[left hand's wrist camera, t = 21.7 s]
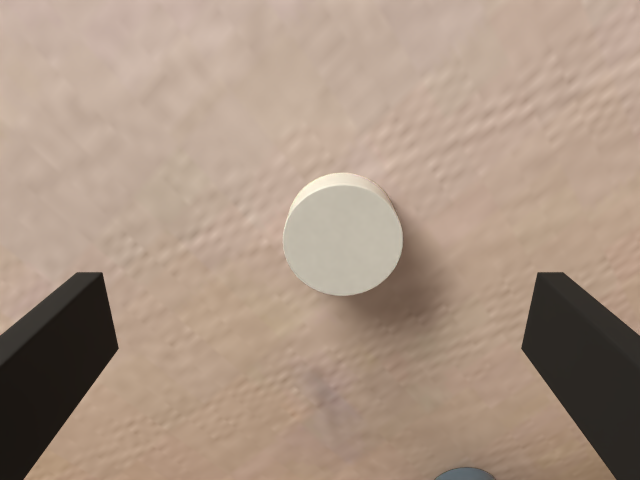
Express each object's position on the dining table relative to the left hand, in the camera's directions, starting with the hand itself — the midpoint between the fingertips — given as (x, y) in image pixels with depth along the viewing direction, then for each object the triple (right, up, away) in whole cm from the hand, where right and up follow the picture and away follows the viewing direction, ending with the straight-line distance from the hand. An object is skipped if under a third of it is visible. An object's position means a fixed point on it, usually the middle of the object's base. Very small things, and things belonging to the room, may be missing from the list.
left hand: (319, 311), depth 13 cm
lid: (+1, +2, +5) cm, 6 cm away
